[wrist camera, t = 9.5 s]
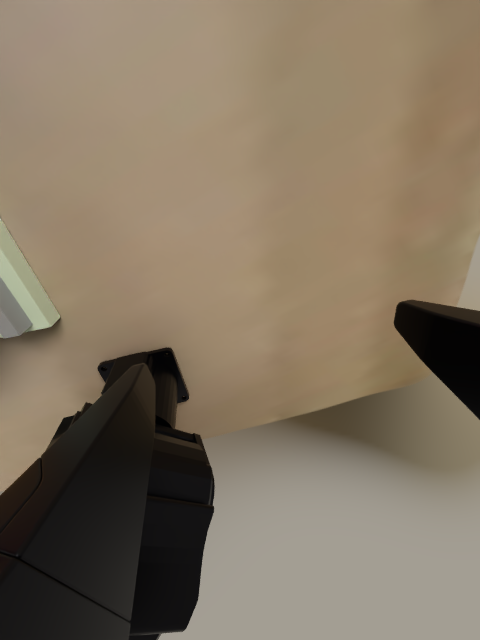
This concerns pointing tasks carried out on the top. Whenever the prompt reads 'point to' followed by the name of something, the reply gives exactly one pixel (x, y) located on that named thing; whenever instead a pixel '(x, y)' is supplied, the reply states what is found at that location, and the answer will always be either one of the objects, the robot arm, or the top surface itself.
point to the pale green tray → (21, 292)
